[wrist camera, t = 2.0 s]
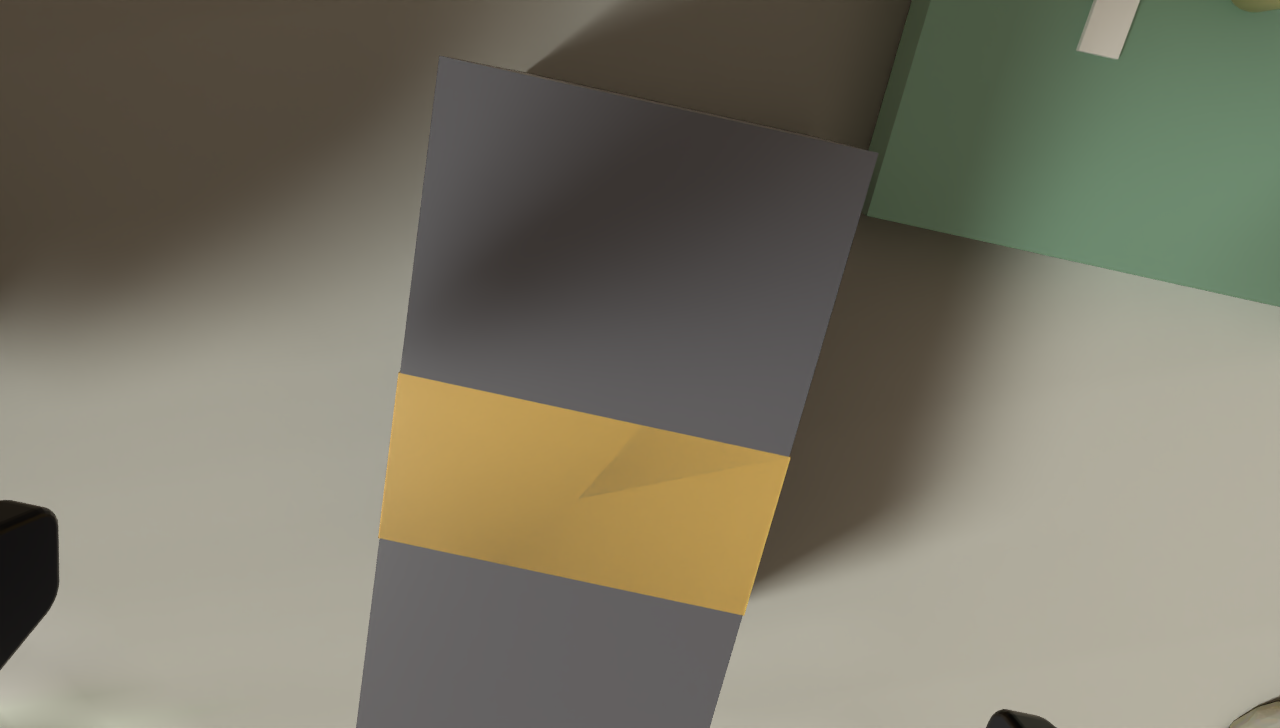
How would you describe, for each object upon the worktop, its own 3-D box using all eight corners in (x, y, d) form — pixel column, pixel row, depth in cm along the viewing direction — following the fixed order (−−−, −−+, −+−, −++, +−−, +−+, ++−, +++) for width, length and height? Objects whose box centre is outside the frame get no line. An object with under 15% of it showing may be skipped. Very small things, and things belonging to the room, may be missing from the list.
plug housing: (445, 573, 17) (351, 758, 12) (523, 72, 14) (437, 54, 9) (682, 623, 17) (682, 826, 12) (812, 136, 14) (879, 153, 9)
